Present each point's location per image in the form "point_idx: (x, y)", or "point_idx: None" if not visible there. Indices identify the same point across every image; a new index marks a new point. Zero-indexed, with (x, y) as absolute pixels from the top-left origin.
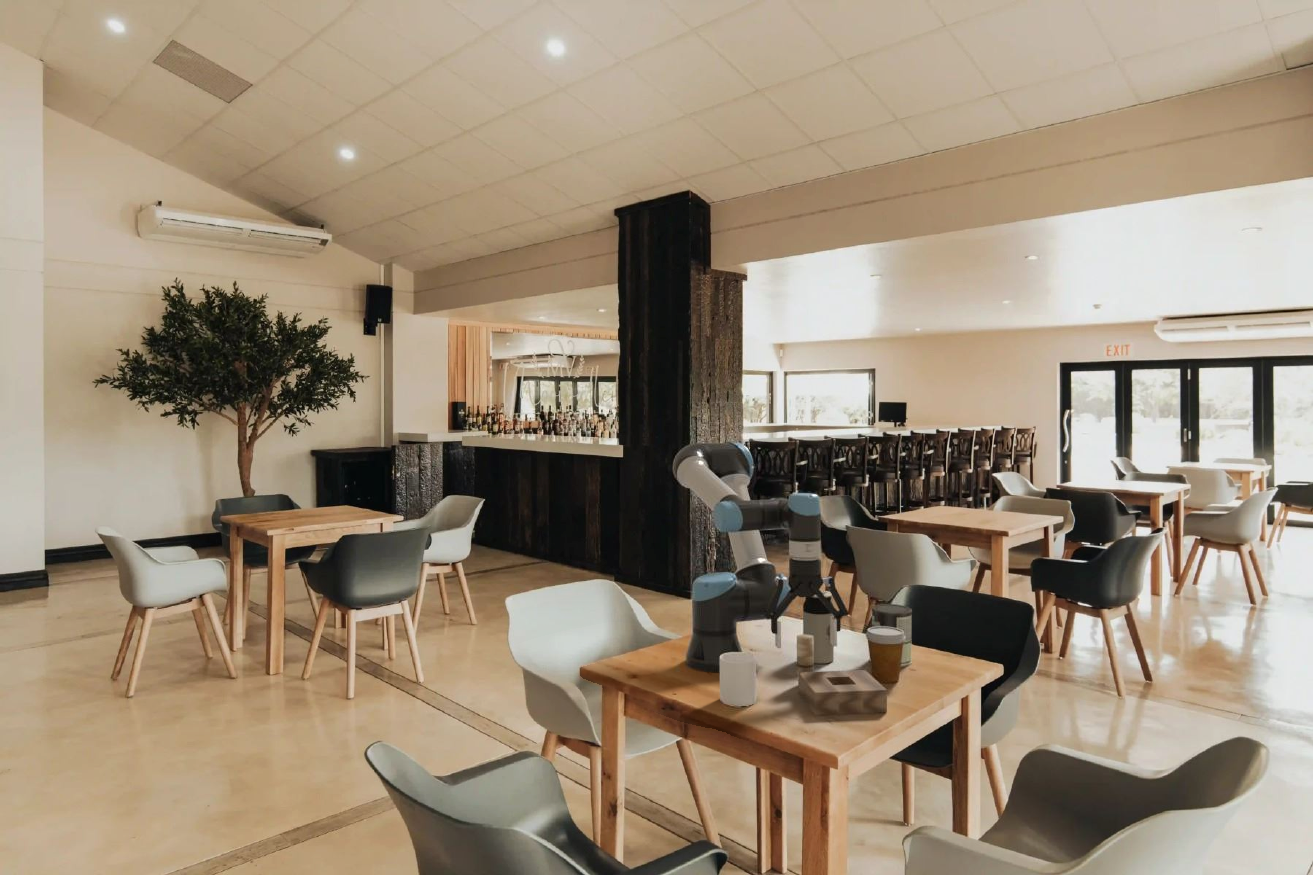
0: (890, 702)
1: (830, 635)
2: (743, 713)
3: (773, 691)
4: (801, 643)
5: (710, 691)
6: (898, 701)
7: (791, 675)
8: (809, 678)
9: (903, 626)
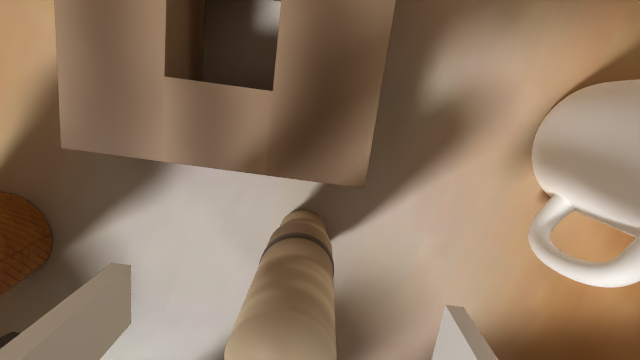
0: None
1: (100, 356)
2: (633, 22)
3: (430, 208)
4: (322, 308)
5: None
6: (35, 5)
7: None
8: (353, 93)
9: None
